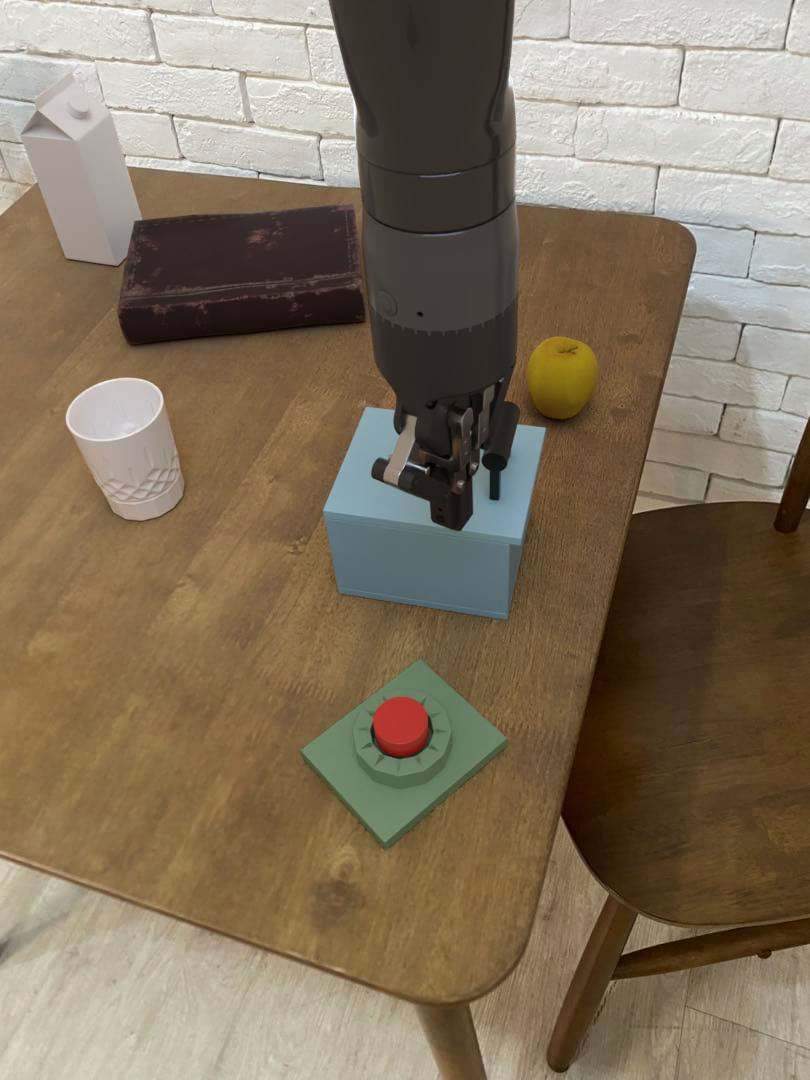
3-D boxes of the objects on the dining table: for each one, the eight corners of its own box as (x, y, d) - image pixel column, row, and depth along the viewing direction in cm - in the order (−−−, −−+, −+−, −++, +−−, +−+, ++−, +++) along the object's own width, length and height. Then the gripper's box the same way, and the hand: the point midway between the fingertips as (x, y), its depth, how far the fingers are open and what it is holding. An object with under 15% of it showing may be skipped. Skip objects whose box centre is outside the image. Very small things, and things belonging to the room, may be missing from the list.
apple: (591, 435, 85) (600, 365, 79) (521, 429, 86) (524, 359, 80) (596, 390, 89) (604, 320, 83) (529, 385, 90) (532, 315, 84)
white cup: (134, 455, 87) (102, 369, 80) (207, 474, 85) (181, 388, 77) (85, 514, 82) (45, 428, 75) (160, 536, 80) (127, 449, 72)
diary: (366, 327, 98) (362, 285, 94) (128, 351, 98) (114, 311, 94) (357, 234, 110) (353, 194, 107) (146, 255, 110) (134, 216, 106)
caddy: (530, 512, 79) (535, 434, 73) (507, 620, 72) (509, 545, 65) (376, 491, 82) (366, 414, 75) (338, 593, 75) (323, 518, 68)
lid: (545, 435, 72) (549, 377, 68) (521, 546, 65) (523, 489, 61) (366, 414, 75) (359, 357, 71) (323, 518, 68) (313, 462, 64)
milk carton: (65, 260, 111) (4, 96, 97) (97, 229, 115) (43, 68, 101) (117, 267, 109) (63, 102, 95) (147, 235, 113) (100, 73, 99)
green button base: (420, 667, 69) (418, 643, 67) (507, 746, 65) (508, 724, 62) (302, 758, 65) (295, 736, 63) (385, 850, 60) (382, 830, 58)
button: (404, 700, 65) (403, 686, 63) (439, 734, 63) (439, 720, 61) (364, 732, 63) (361, 718, 62) (399, 767, 61) (397, 754, 60)
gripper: (442, 378, 41) (453, 616, 54) (568, 231, 48) (552, 473, 61) (302, 333, 44) (345, 569, 57) (441, 201, 51) (451, 438, 64)
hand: (452, 519), depth 59 cm, fingers closed
